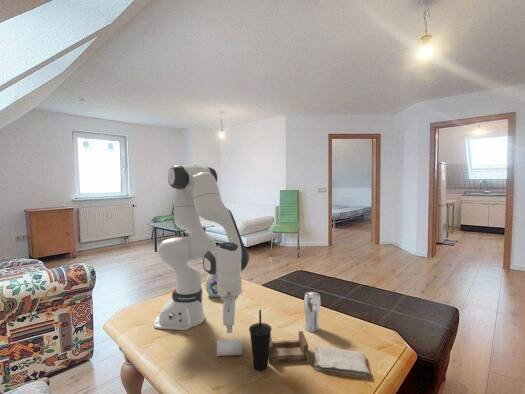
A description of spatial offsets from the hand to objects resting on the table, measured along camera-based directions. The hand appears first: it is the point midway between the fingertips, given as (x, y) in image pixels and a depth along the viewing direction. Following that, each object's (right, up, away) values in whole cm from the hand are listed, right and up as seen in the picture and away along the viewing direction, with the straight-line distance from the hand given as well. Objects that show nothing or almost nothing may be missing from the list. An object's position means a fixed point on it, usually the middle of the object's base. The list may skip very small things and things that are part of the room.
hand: (230, 325), depth 101 cm
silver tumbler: (+33, -11, +19) cm, 40 cm away
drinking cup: (+11, -12, -5) cm, 17 cm away
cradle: (+21, -11, +2) cm, 24 cm away
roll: (0, -9, +2) cm, 9 cm away
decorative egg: (-14, -9, +56) cm, 59 cm away
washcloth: (+39, -12, -4) cm, 41 cm away
